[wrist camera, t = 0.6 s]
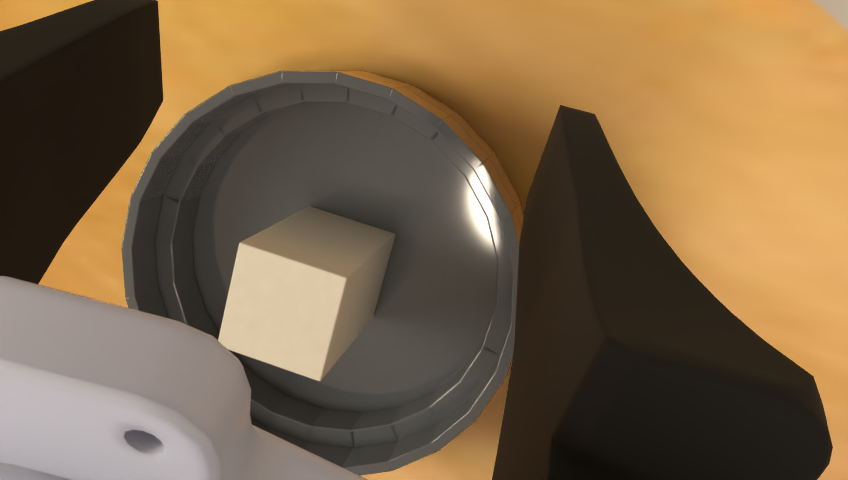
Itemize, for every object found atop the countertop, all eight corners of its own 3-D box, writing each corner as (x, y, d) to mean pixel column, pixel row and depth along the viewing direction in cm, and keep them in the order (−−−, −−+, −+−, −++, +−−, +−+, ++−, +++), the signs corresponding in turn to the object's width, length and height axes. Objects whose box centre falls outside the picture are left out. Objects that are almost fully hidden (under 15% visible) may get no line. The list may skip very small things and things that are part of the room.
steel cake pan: (469, 480, 39) (455, 532, 35) (145, 365, 41) (94, 400, 37) (582, 134, 34) (583, 144, 30) (210, 24, 36) (160, 19, 32)
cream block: (373, 318, 38) (320, 382, 30) (289, 289, 38) (216, 346, 31) (396, 233, 37) (347, 278, 29) (309, 205, 37) (238, 242, 29)
